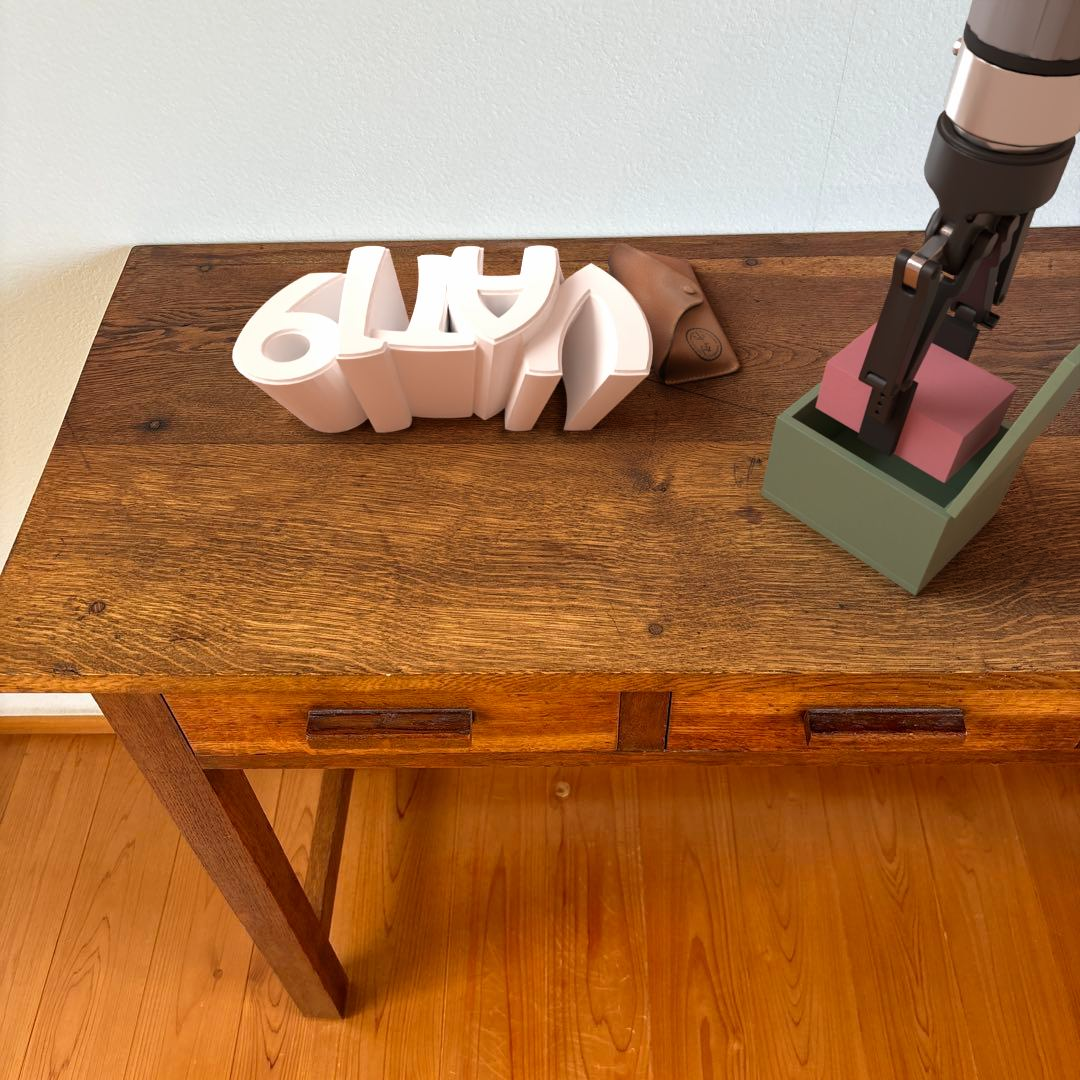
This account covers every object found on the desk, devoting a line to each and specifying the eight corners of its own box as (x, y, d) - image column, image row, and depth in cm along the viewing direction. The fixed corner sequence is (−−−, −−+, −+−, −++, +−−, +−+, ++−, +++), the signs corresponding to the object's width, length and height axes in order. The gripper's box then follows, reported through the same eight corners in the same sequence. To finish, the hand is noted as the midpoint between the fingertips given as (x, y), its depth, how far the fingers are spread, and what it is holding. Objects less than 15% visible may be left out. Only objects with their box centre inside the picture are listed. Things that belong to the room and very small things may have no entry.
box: (760, 495, 83) (776, 416, 76) (844, 424, 88) (866, 344, 81) (915, 596, 76) (948, 520, 69) (996, 513, 81) (1034, 434, 74)
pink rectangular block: (997, 433, 74) (1018, 387, 70) (944, 483, 71) (963, 437, 67) (869, 363, 79) (882, 317, 76) (815, 407, 76) (826, 361, 73)
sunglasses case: (747, 367, 92) (718, 323, 87) (681, 408, 94) (649, 367, 89) (685, 254, 103) (657, 210, 99) (627, 293, 105) (596, 251, 101)
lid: (1064, 358, 56) (1076, 366, 56) (1160, 267, 61) (1172, 274, 61) (945, 512, 69) (954, 519, 69) (1032, 426, 74) (1041, 433, 74)
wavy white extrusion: (648, 337, 96) (655, 241, 88) (646, 463, 86) (653, 367, 78) (287, 328, 99) (261, 233, 90) (242, 449, 88) (208, 354, 80)
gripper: (1037, 40, 63) (935, 333, 81) (848, 165, 55) (781, 462, 72) (1155, 80, 59) (1022, 377, 77) (973, 220, 51) (871, 518, 69)
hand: (906, 417), depth 75 cm, fingers closed on pink rectangular block, 7 cm apart
